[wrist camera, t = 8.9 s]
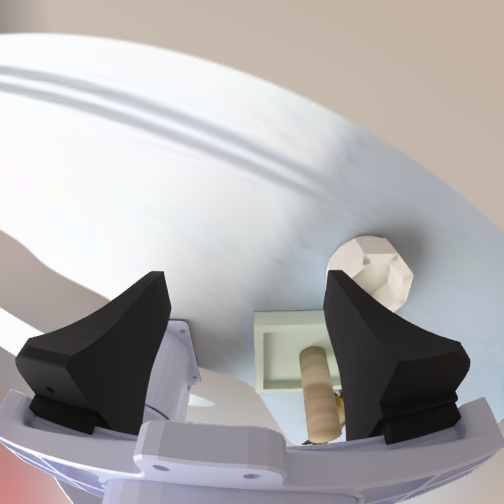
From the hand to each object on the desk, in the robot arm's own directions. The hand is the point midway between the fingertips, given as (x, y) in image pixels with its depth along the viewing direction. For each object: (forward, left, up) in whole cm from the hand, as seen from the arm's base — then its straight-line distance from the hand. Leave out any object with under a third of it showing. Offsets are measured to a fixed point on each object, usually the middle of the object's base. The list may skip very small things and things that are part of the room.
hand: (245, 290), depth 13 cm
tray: (-14, -6, -9) cm, 18 cm away
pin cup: (-5, -9, -9) cm, 14 cm away
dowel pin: (-14, -6, -9) cm, 17 cm away
